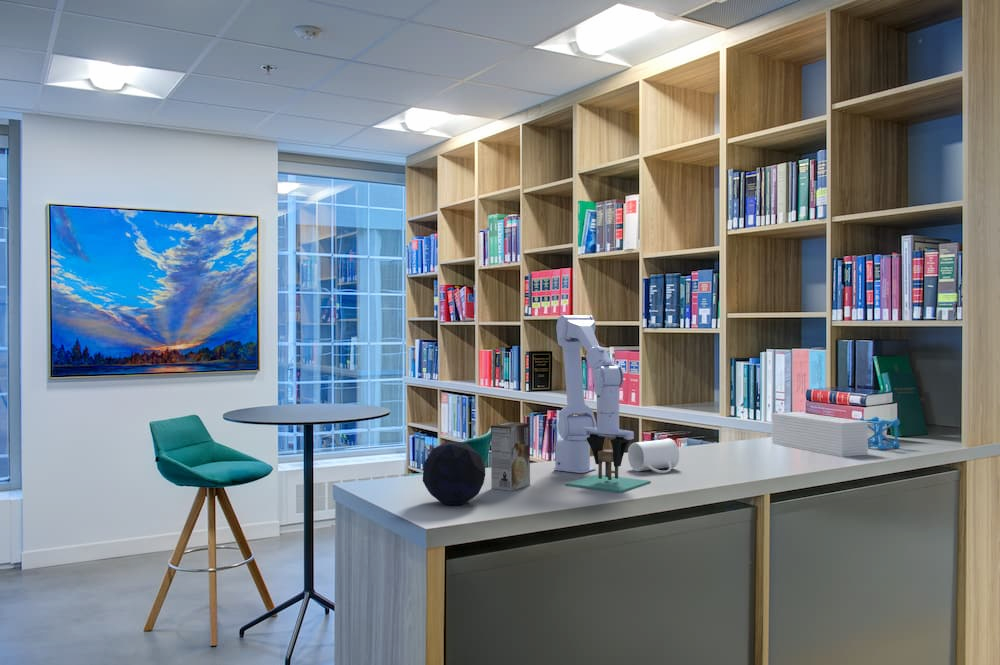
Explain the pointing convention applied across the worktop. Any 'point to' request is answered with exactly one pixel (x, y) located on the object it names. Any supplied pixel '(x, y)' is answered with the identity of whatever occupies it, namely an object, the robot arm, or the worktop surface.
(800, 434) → the stack of papers
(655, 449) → the mug
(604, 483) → the teal mat
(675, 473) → the worktop surface
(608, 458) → the walnut stool
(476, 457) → the decorative orb
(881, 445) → the molecular structure
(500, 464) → the coffee box
